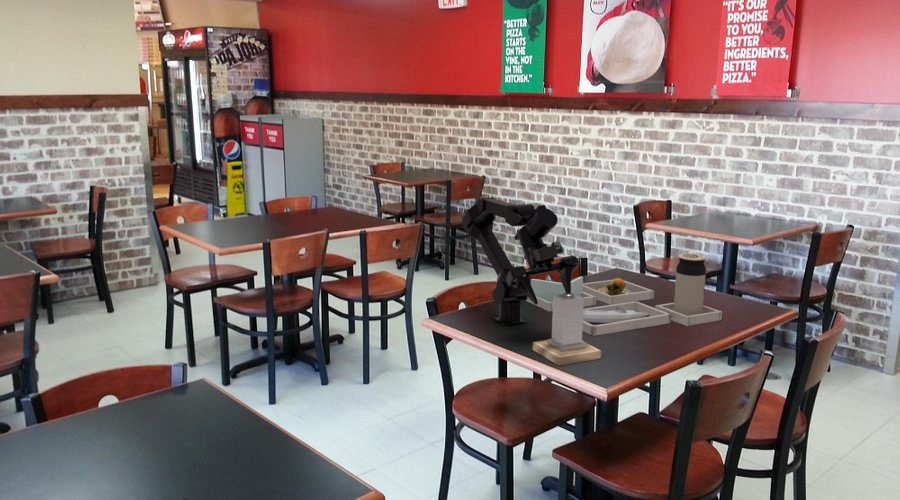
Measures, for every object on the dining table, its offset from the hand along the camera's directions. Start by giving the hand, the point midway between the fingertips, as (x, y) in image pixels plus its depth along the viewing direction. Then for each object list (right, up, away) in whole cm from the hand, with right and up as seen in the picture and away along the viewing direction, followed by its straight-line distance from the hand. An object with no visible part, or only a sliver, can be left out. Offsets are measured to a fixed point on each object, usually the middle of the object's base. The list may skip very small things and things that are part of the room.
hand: (553, 300), depth 186 cm
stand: (+2, -13, -5) cm, 14 cm away
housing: (+2, -11, -6) cm, 12 cm away
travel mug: (+42, -7, +26) cm, 50 cm away
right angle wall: (+7, -3, +42) cm, 42 cm away
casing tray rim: (+20, -7, +21) cm, 30 cm away
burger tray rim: (+27, -2, +49) cm, 56 cm away
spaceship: (+20, -7, +24) cm, 32 cm away
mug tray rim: (+42, -7, +26) cm, 50 cm away
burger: (+27, -2, +49) cm, 56 cm away
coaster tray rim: (+7, -3, +42) cm, 42 cm away
